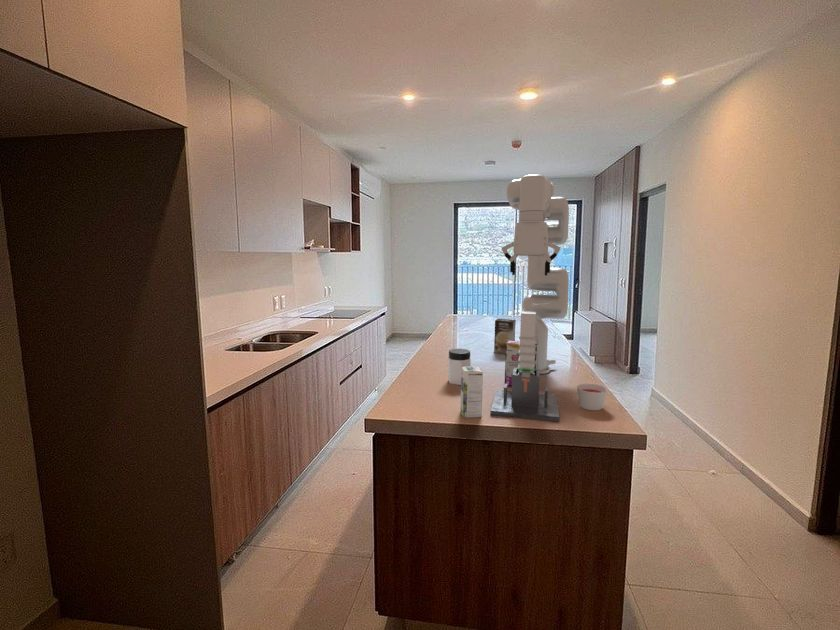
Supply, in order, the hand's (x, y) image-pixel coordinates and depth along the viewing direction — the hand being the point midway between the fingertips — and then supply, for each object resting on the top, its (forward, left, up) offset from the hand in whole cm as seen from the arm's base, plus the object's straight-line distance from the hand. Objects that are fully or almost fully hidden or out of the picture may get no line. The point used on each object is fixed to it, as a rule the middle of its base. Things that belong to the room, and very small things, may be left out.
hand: (529, 275), depth 133 cm
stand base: (0, 0, -42) cm, 42 cm away
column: (0, 0, -34) cm, 34 cm away
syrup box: (+19, -2, -42) cm, 47 cm away
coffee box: (-37, -63, -42) cm, 84 cm away
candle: (-19, +9, -42) cm, 47 cm away
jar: (+6, -32, -42) cm, 53 cm away
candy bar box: (-12, -18, -42) cm, 48 cm away
